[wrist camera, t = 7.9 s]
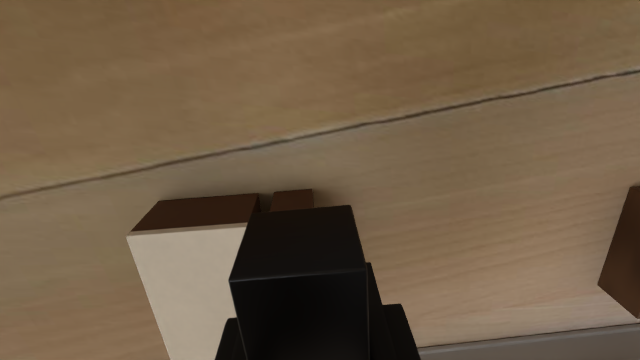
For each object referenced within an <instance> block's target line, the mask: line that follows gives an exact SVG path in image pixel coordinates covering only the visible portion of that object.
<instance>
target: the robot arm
mask: <svg viewBox="0 0 640 360" xmlns="http://www.w3.org/2000/svg"><path fill="white" fill-rule="evenodd" d="M366 266H367V274H368V311H369V348H370V360H421V358H420V355H419V352H418V350H417V347H416V344H415V341H414V338H413V335H412V332H411V330H410V327H409V324H408V321H407V318H406V315H405V312H404V310H403V307H402V305H401V304H389V305H382V302H381V298H380V295H379V291H378V288H377V284H376V280H375V277H374V273H373V269H372V266H371V263H370V262H369V263H366ZM215 360H247V359H246V354H245V350H244V346H243V342H242V337H241V333H240V329H239V325H238V320H237V317H235V318H228V319H227V321H226V323H225V326H224V330H223V333H222V337H221V340H220V343H219V347H218V350H217V354H216V357H215Z"/></svg>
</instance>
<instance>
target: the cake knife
mask: <svg viewBox="0 0 640 360" xmlns="http://www.w3.org/2000/svg"><path fill="white" fill-rule="evenodd" d="M228 282H229V287H230V291H231V295H232V299H233V303H234V308H235V312H236V316H237V320H238V325H239V329H240V333H241V337H242V342H243V346H244V350H245V354H246V359H247V360H370V348H369V311H368V274H367V266H366V262H365V258H364V254H363V250H362V246H361V242H360V238H359V234H358V230H357V227H356V223H355V219H354V215H353V211H352V207H351V205H342V206H330V207H318V208H306V209H295V210H283V211H271V212H259V213H251V215H250V217H249V220H248V223H247V226H246V229H245V232H244V235H243V238H242V241H241V244H240V247H239V250H238V253H237V256H236V259H235V261H234V264H233V267H232V270H231V273H230V276H229V279H228Z"/></svg>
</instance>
